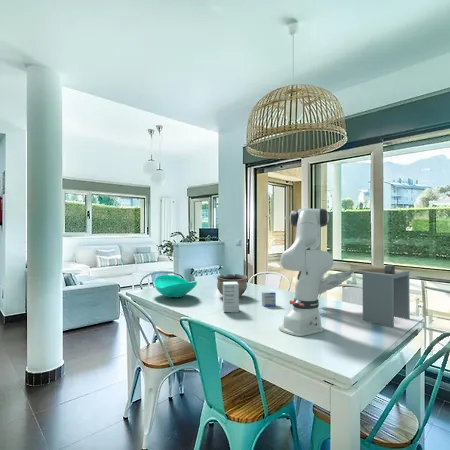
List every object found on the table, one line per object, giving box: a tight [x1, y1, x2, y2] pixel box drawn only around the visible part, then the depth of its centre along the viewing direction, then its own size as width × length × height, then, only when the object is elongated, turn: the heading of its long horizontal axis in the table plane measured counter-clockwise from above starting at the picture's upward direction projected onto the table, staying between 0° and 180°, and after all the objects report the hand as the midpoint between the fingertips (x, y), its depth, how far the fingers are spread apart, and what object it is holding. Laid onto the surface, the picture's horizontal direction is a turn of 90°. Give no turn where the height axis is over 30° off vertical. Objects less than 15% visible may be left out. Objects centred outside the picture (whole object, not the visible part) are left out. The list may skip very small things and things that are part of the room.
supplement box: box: [222, 282, 240, 313], centre depth 182 cm, size 10×9×17 cm
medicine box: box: [261, 291, 277, 308], centre depth 193 cm, size 8×4×9 cm, turn 105°
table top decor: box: [153, 274, 198, 298], centre depth 218 cm, size 40×28×13 cm
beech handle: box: [350, 263, 396, 274], centre depth 165 cm, size 5×22×4 cm, turn 39°
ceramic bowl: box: [216, 273, 248, 297], centre depth 217 cm, size 22×22×15 cm
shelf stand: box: [361, 269, 411, 328], centre depth 163 cm, size 22×15×26 cm
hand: (349, 272), depth 175 cm, fingers open, 8 cm apart
